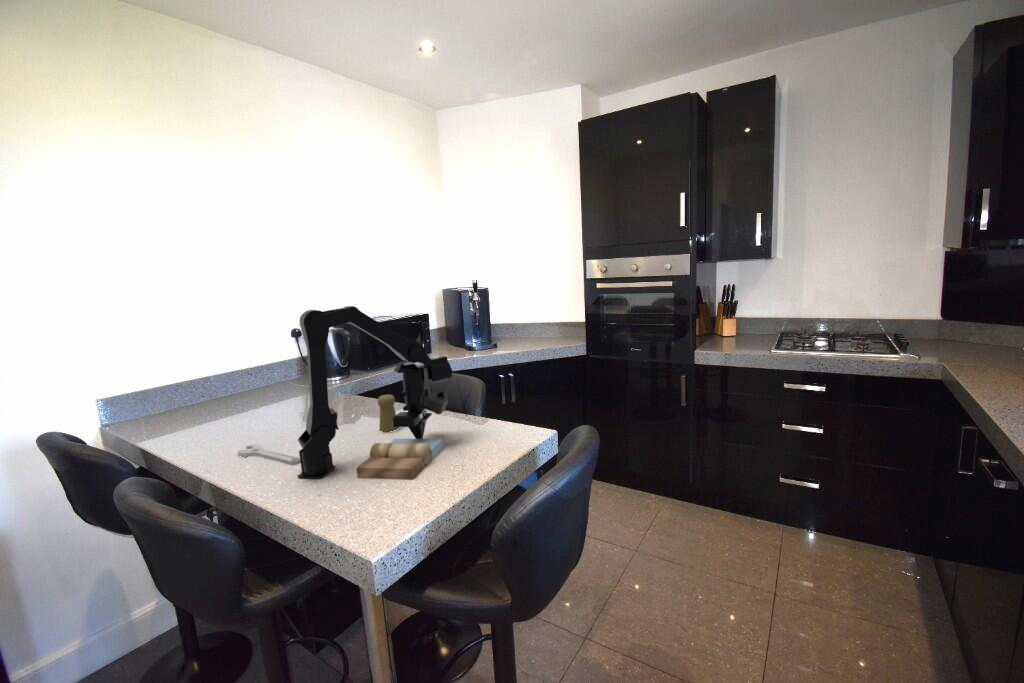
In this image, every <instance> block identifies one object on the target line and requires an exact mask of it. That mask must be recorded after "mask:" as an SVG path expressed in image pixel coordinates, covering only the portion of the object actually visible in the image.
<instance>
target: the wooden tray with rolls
mask: <svg viewBox="0 0 1024 683" xmlns="http://www.w3.org/2000/svg"><path fill="white" fill-rule="evenodd" d="M391 445H392V443H390V442H374V443H373V444H372V445H371V448H370V450H369V457H368V458H367V459H366V460H364V461H363V462H361V464H359V465H357V466H356V476H357V478H359V479H360V477H361V479H387V478H390V480H391V479H394V480H395V479H396V480H414V478H416V477H417V475H418V474H419V473H420V472H421V471H422V470H423V469H425V465H427V464H429V463H430V460H431V459H430V456H431V449H430V445H429V444H427V443H411V444H410V445H409V447H408V450H407V458H389V457H388V453H389V449H390V446H391Z"/></svg>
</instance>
